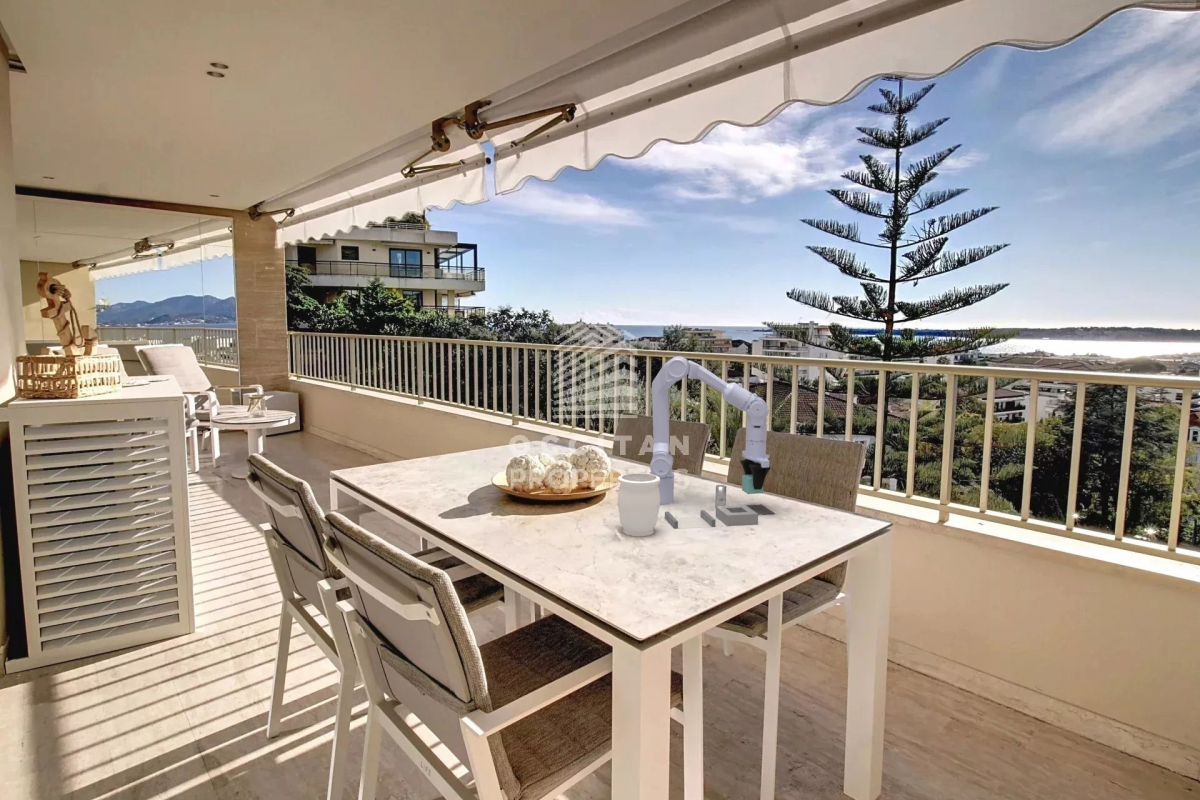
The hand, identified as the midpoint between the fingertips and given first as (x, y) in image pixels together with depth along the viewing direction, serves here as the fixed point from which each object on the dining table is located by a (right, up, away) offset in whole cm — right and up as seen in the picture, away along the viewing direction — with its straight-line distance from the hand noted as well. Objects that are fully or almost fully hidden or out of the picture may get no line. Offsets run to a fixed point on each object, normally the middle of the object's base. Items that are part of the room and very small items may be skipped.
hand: (754, 486), depth 183 cm
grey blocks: (-15, -8, -14) cm, 22 cm away
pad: (0, -7, +1) cm, 7 cm away
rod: (-10, -7, -1) cm, 12 cm away
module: (0, -1, 0) cm, 1 cm away
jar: (-35, -9, -22) cm, 42 cm away
